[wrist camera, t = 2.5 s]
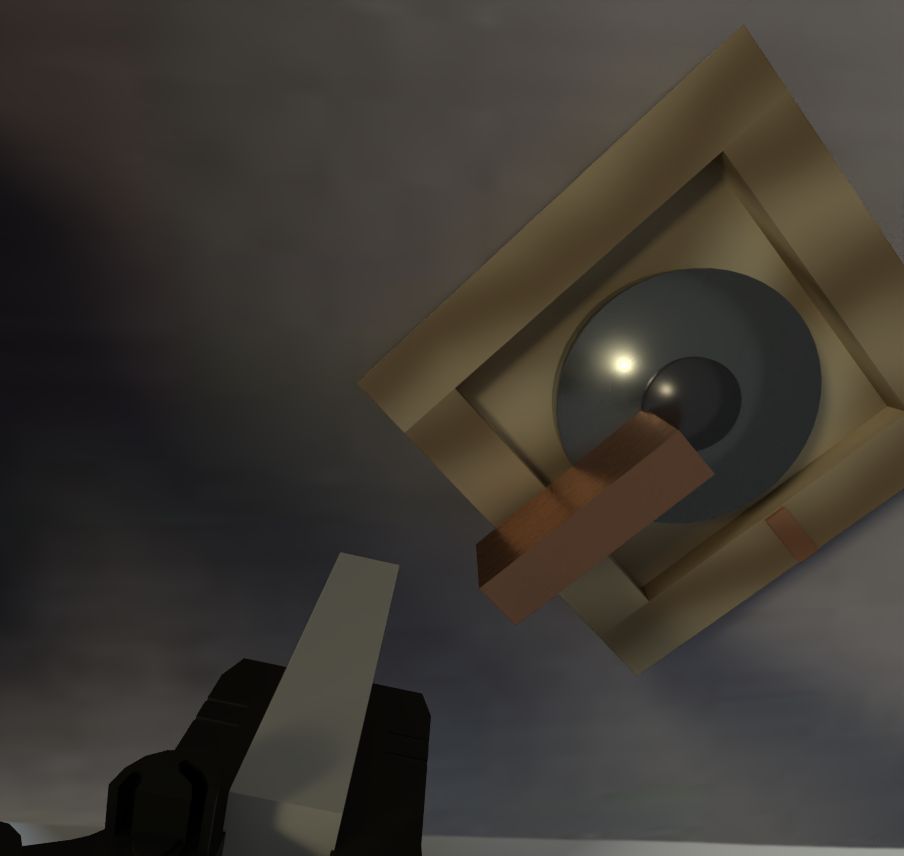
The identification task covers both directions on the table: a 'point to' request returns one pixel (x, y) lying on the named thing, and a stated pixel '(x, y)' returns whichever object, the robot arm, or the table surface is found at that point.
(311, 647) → the robot arm
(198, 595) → the table surface
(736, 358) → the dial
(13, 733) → the table surface
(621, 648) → the panel
